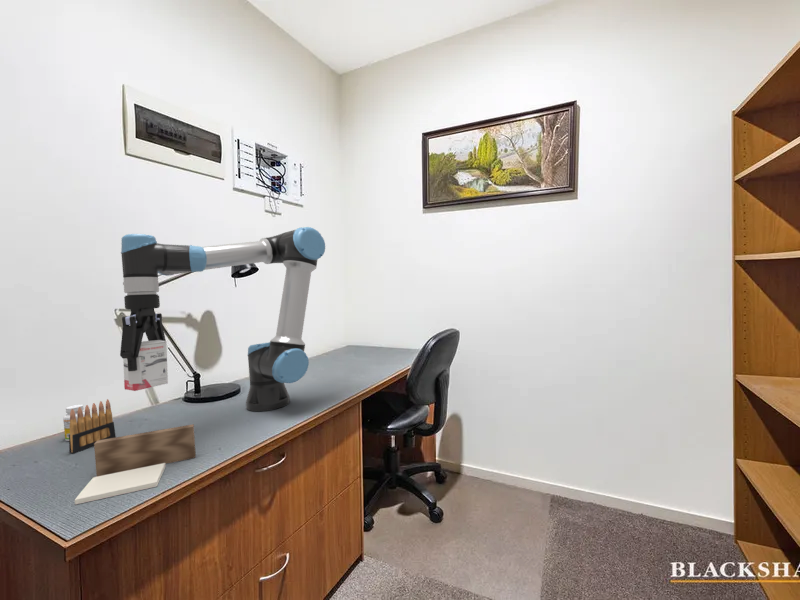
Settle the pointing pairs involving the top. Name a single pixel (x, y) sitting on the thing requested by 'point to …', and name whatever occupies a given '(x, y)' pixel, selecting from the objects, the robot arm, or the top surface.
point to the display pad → (121, 483)
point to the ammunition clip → (90, 427)
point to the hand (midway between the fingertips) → (147, 378)
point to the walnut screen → (144, 449)
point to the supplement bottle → (67, 418)
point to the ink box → (149, 365)
